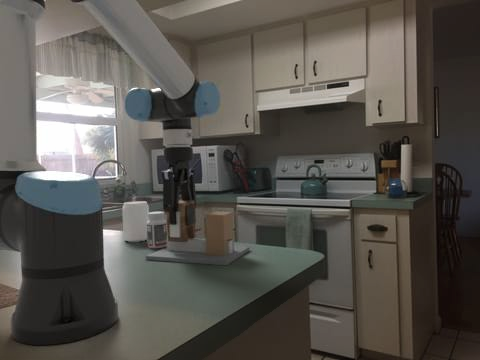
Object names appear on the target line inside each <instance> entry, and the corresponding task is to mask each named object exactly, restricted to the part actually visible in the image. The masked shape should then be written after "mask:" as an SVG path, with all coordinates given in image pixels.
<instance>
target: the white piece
mask: <svg viewBox="0 0 480 360" xmlns="http://www.w3.org/2000/svg"><path fill="white" fill-rule="evenodd" d="M149 208H150V207H149V204H148V202H147V201H142V200H141V201H140V200H139V201H137V200H136V201H127V202H124V203H123V205H122V208H121V211H122V227H123V228H122V230H123V231H122V233H123V240H124V241H128V242H127V243H140V241H142V242H146V241H147V221H148V220H149V218H148V213H149V212H150V209H149ZM145 240H146V241H145Z"/></svg>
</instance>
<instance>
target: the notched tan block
mask: <svg viewBox="0 0 480 360" xmlns="http://www.w3.org/2000/svg"><path fill="white" fill-rule="evenodd" d="M195 205H196V204H194V201H182V200H179V203H178V211H177V212H180V229H181V237H170V223H169V212H166V223H167V239H168V241H170V242H187V241H188V238H189V239H197V235H196V233H197V232H196V223H197V221H196V220H197V218H196V207H195Z"/></svg>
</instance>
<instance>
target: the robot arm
mask: <svg viewBox="0 0 480 360" xmlns="http://www.w3.org/2000/svg"><path fill="white" fill-rule="evenodd" d="M70 2H72V3H73V4H75V5H81V6H84V7H85V9H86V10H87V11H88V12H89V13H90V14H91V15H92V16H93V17H94V18H95V20H96V21H97V22H98V23H99V24H100V25H101V26H102V28H103V29H104V30H106V32H107V33H108V34H109V35H110V36H111V37H112V38H113V39H114V40H115V41H116V43H117V44H118V45H120V47H121V48H122V49H123V50H124V52H125V53H127V54H128V56H130V58H131V59H132V60H133V61H134V63H136V65H137V66H138V67H139V68H140V69H141V70H142V71H143V72H144V73H145V74H146V76H147V77H148V78H149V79H150V80H151V81H152V82H153V83H154V85H156V87H158V88H151V89H148V88H146V87H142V88H141V87H133V88H131V90H129V91H128V92H127V94H126V96H125V98H124V111H125V113H126V115H127V116H128V117H129V119H131V120H133V121H139V122H142V123H143V122H149V123H151V122H153V123H162V145H163V146H165V147H164V149H163V160H164V162H165V163H168V166H167V170H162V171H161V178H162V206H163V207H162V208H163V211H164V213H165V212H166V213H167V212H169V223H170V237H181V229H180V212H177V211H178V203H179V201H180V196H181V201H194V204H195V208H196V207H197V193H196V181H195V180H196V179H195V177H196V175H195V174H196V169H195V168H190V163H189V162H193V160H194V151H193V150H194V149H193V147H191V145H192V146H193V136H194V134H193V129H192V127H193V126H192V119H193V118H194V119H197V118H199V119H201V118H204V117H209V116H213V115H215V114H217V112H218V110H219V108H220V105H221V94H220V89H218V87H217V85H216V84H215V83H214V82H212V81H208V80H201V81H200V80H198V78H197V77H196V75H194V72H192V70H191V69H190V67H189V66H188V65H187V64H186V63H185V61H184V60H183V59H182V57H180V54H179V53H178V52H177V51H176V50H175V49H174V48H173V46H172V44H171V43H170V42H169V40H167V38H166V37H165V36H164V34H163V33H162V31H160V29H159V28H158V26H157V25H156V24H155V23H154V22H153V21H152V19H151V18H150V16H149V15H148V14H147V12H146V11H145V10H144V9H143V7H142V6H141V5H140V3H139V2H138V1H137V0H70ZM45 15H46V0H0V251H9V252H10V251H11V252H15V253H16V252H17V253H20V264H21V265H20V267H21V269H20V270H21V282H20V283H21V284H20V287H19V292H18V296H17V298H16V299H17V300H16V305H15V309H14V312H13V313H12V316H11V318H10V331H11V337H12V339H14V340H15V341H17V342H19V343H21V344H27V345H40V346H41V345H42V346H44V345H47V346H48V345H59V344H64V343H71V342H74V341H79V340H83V339H86V338H89V337H92V336H95V335H98V334H100V333H101V332H104V331H106V330H108V329H109V328H111V327H112V326H113V325H114V324H116V322H117V321H118V319H119V307H118V306H119V304H118V301H117V298H116V297H115V296H114V294H113V293H114V292H113V291H112V290H113V289H112V287H111V286H112V285H111V284H110V281H109V278H108V275H107V274H106V270H105V257H104V256H105V252H104V251H105V250H104V245H105V244H104V225H103V224H104V222H103V219H104V218H103V206H104V205H103V199H102V196H101V195H102V194H101V187H100V186H101V185H100V183H99V181H98V179H96V177H94V176H92V175H89V174H84V173H78V172H70V171H67V172H65V171H54V170H53V171H52V170H47V168H45V167H44V166H43V165H42V163H40V162H39V161H38V159H37V158H38V157H37V156H38V153H37V151H38V150H37V147H38V146H37V140H38V139H37V44H36V43H37V32H36V31H37V28H36V27H37V25H36V24H37V22H39V21H40V20H42V19H43V18H44V17H45Z"/></svg>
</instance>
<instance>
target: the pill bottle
mask: <svg viewBox="0 0 480 360" xmlns="http://www.w3.org/2000/svg"><path fill="white" fill-rule="evenodd" d="M148 218H149V220H148V221H147V240H146V241H147V247H148V248H149V249H161V248H162V249H163V248H167V239H168V230H167V219H165V211H149V213H148Z"/></svg>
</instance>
